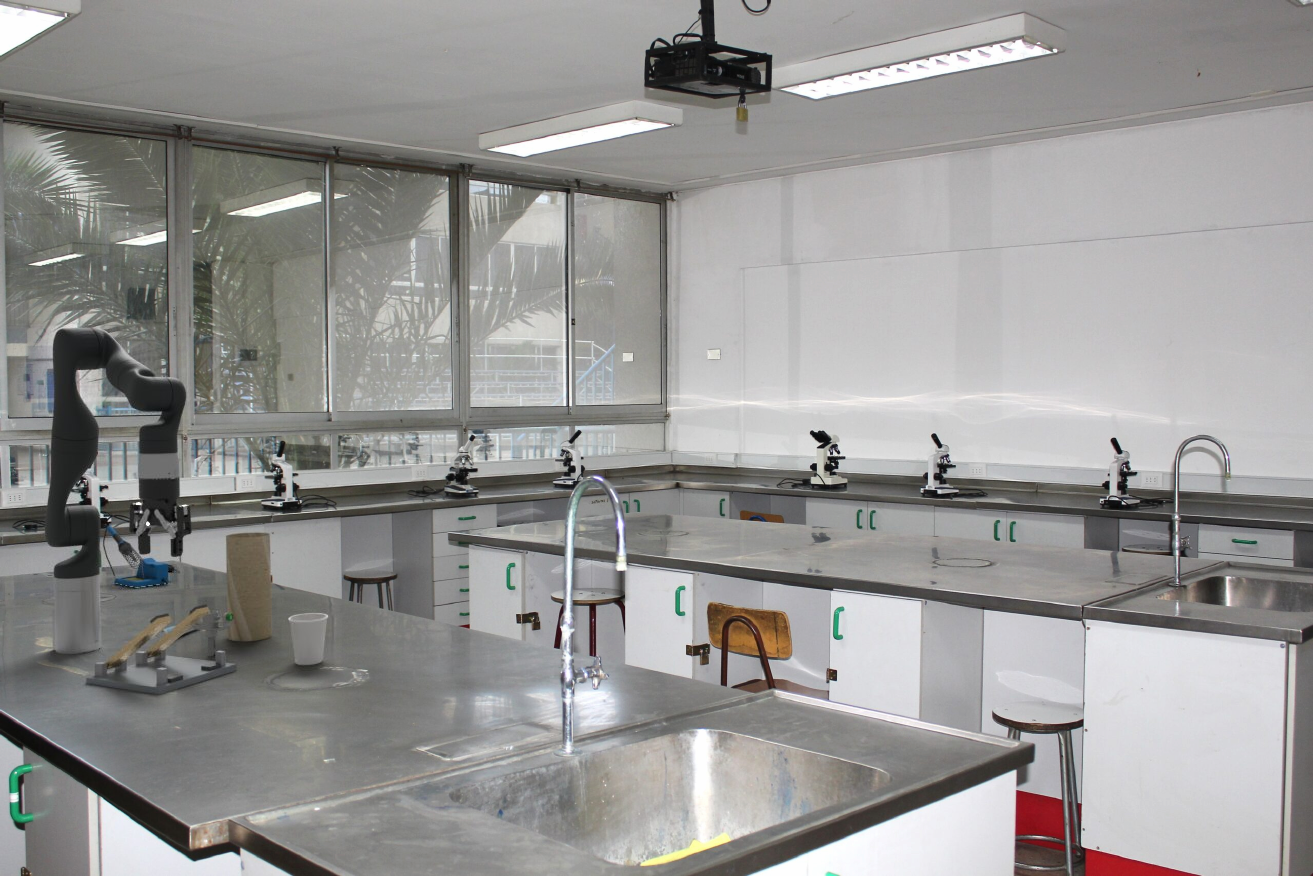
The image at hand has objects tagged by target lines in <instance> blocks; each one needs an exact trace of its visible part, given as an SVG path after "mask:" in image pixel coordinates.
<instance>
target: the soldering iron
mask: <svg viewBox="0 0 1313 876" xmlns="http://www.w3.org/2000/svg"><path fill="white" fill-rule="evenodd" d="M107 532H108V533H109V534H110V535H111V536H112V539H113V540H114V541H115V542H116V544H117V548H118V552H119V553H120V554H121V555H122V557H123V558H124V559H125V561H126V562H127V563H128V565H129V566H130V568H132V569H133V570H135V569H137V571H136V575H131V576H123V577H116V575H115V572H114V569H113V567H112V564H111V562H110V560H109V557H108V555H107V550H106V547H105V540H106V536H107ZM102 541H103V542H102V547H103V550H104V554H105V559H106V560H107V562H108V565H109V566H110V569H111V572H112V574H113V577H114V576H115V578H114V582H113V583H114V584H115V583H118V584H122V585H127V586H133V587H141V586H148V585H156V584H164V583H166V585H167V584H168V583H169V584H170V582H169V581H170V580H169V579H170V577H169V572H168V571H173V572H177V571H178V572H177V573H179V572H180V570H177V569H175V566H174V565H172V564H169V563H166V562H160V561H156V560H155V559H154V557H145V558H142V557H141V555H140V553H139V552H137V550H136V549H134V547H133V546H132V544H131V543H130V542H128V541H126V540H124V539H123V538H122V536H121V535H120V534H119V533H117V531H116V530H115V529H114V528H113V526H111V525H107V526H106V529H105V531H104V536H103V540H102Z"/></svg>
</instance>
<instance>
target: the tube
mask: <svg viewBox="0 0 1313 876" xmlns="http://www.w3.org/2000/svg"><path fill="white" fill-rule="evenodd" d="M225 545H226V546H225V553H226V554H225V557H226V560H225V561H226V605H227V606H226V609H227V610H226V611H227V612H226V613H231V614H233V620H232V625H231V627H229V628H227V639H228V640H229V641H233V642H253V641H255V642H256V641H261V640H267V639H268V638H271V637H272V636H273V635H272V628H273V627H272V578H271V576H272V575H271V574H272V573H271V569H272V568H271V533H270V532H268V533H267V532H241V533H232V534H227V535H226V536H225Z"/></svg>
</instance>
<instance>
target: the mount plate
mask: <svg viewBox="0 0 1313 876" xmlns="http://www.w3.org/2000/svg"><path fill="white" fill-rule="evenodd" d="M166 650H167V648H166V649H164V650H163V651H162V652H161V653H160V654H159V655H158V656H155V657H153V658H151V659H149V660H148V659H147V652H146V651H143V650H142V651H141V650H139V651H135V663H134V664H131V665H128V664H127V663H128V662H127V661H128V660H127V659H128V658H127V659H126V660H125V661H124V662H122V663H121V664H120V665H119V666H118V667H115V668H114V669H112V670H109V671H108V670H107V663H105V662H106V661H105V662H102V661H98V662H95V663H94V675H90V676H88V677H85V680H86V681H85V684H89V685H95V686H102V687H107V688H108V687H109V688H114V689H121V690H122V689H123V690H126V691H127V690H129V691H134V692H142V693H146V694H148V693H149V694H153V693H154V694H155V695H162V694H167V693H169V691H170V692H172V691H171V690H173V691H176V690H178V689H177V688H179V689H182V688H185V687H184V686H186V687H188V686H187V685H189V686H192V685H195V684H198V683H201V681H202V682H204V681H207V680H210V679H211V680H212V679H215V678H217V676H218V677H220V675H221V676H223V675H227V674H230V673H233V672H237V663H233V662H232V663H231V662H227V661H226V651H225V650H217V651H215V655H214V657H215V660H207V659H199V658H190V657H180V656H174V655H173V656H172V655H167V654H166ZM191 684H192V685H191ZM181 687H182V688H181ZM175 689H176V690H175Z"/></svg>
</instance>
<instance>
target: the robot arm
mask: <svg viewBox="0 0 1313 876" xmlns="http://www.w3.org/2000/svg"><path fill="white" fill-rule="evenodd" d="M52 369H53V371H52V373H53V375H52V376H53V411H52V412H53V413H52V425H51V437H50V478H49V490H48V497H47V503H46V511H45V521H44V535H45V536H44V537H45V540H46V543H47V544H48V546H50V547H52V548H66V547H80V546H81V548H80V550H79V551H78V552H77V553H76V554H74V555H73V556H71V557H69V558H67V559H65V560H62V561H59V562H57V563H56V564H55V565H54V567H53V590H54V591H53V592H54V608H53V609H52V610H51V623H52V624H51V625H52V627H51V628H52V651H54V652H56V653H57V654H61V655H62V654H63V655H75V654H83V653H84V652H85V653H89V652H94V651H97V650H100V649H101V648H102V620H101V619H102V618H101V617H102V616H101V576H100V575H101V574H100V573H101V572H100V568H101V567H100V565H101V564H100V561H101V555H100V552H101V549H100V548H101V547H100V546H101V544H100V543H101V515H100V511H99V509H98V508H97V507H96V506H95V505H93V504H91V505H90V504H86V505H85V504H84V505H83V504H82V505H69V506H67V503H68V499H69V497H70V495H71V492H72V490H73V489H74V487H75V485H76V484H77V483H78V482H79V480H80V479H81V478H82V477H83V476H84V474H86V472H87V471H88V469H89V468H90V467H91V466H92V464H93V463H94V461H95V460H96V457H97V456H98V452H99V451H98V449H99V440H100V439H99V434H100V427H99V424H98V421H97V419H96V417H95V416H94V414H93V413H92V411H91V410H90V408H89V407H88V406H87V404H86V403H85V402H84V400H83V399H82V397H81V394H80V393H79V389H78V386H77V385H78V384H77V377H76V376H77V375H76V374H77V371H92V370H93V371H95V370H100V369H105V375H106V378H107V380H108V382H109V383H110V384H111V386H112V387H113V388H115V389H116V390H117V391H119V392H121V393H122V394H124V396H125V397H126V399H127V401H128V403H129V405H130V406H131V408H133V409H135V410H136V411H139V412H143V413H149V412H150V413H151V412H152V413H156V412H157V413H158V412H160V416H159V418H158V420H156V421H154V422H151V423H148V424H144V425H142V426H141V427H140V428H139V431H138V432H139V433H138V440H139V441H138V442H139V443H138V444H139V445H138V446H139V449H138V450H139V452H138V453H139V455H138V456H139V457H138V468H137V469H138V499H139V500H140V501H141V500H142V502H136V503H135V502H133V503H130V504H129V528H128V529H129V533H131V534H132V533H134V534H135V535H136V537H137V550H138V554H139V555H140V556H141V555H148V554H149V555H150V554H151V552H152V551H151V549H152V548H151V535H150V533H151V532H152V530H153V529H154V528H155V527H156V526H158V527H163V529H164V530H166V531H167V533H168V534H169V536H170V537H171V538H170V557H172V558H177V557H181V556H182V554H183V553H184V537H185V536H188V535H191V534H192V533H193V532H192V519H191V518H192V517H191V515H192V514H191V506H190V505H189V504H183V505H178V502H177V501H178V499H179V498H180V496H181V487H180V486H181V485H180V482H181V481H180V480H181V479H180V478H181V477H180V459H179V454H178V453H179V452H178V449H179V448H178V447H179V445H178V444H179V443H178V432H179V428H180V424H181V420H182V417H183V411H184V409H185V406H186V401H187V390H186V387H185V385H184V383H183V381H181V380H180V379H178V378H177V377H172V376H168V377H167V376H164V377H163V376H156V375H155V373H154V372H153V370H151V369H150V368H149V367H148V366H146V365H144V364H142V363H141V362H139V361H138V360H136V359H134V358H133V357H132V356H131V355H129V353H128V352H127V351H126V350H125V349H124V347H122V345H121V344H120V343H119V342H118V341H117V340H116V339H115V338H114V337H113V336H112V334H110V333H109V332H108V331H106V330H104V329H103V328H99V327H64V328H63V327H62V328H60V329H58V330H57V331H56V332H55V335H54V337H53V340H52ZM136 523H137V524H136ZM99 648H100V649H99ZM93 650H94V651H93Z"/></svg>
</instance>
